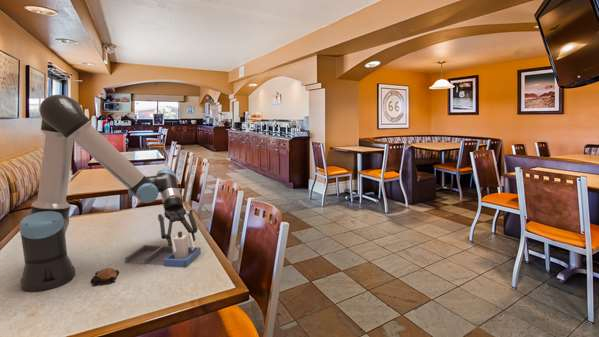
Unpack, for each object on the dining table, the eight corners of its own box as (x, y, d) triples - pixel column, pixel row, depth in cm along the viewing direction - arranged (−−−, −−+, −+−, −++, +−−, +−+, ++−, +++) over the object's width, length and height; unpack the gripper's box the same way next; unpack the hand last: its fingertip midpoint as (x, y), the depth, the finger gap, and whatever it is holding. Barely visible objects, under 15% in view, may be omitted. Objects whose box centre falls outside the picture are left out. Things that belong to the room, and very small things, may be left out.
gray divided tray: (185, 267, 124) (184, 260, 124) (123, 264, 127) (123, 257, 127) (200, 253, 138) (200, 246, 138) (144, 250, 141) (144, 243, 141)
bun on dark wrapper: (94, 275, 120) (93, 266, 119) (120, 271, 123) (119, 262, 122) (88, 289, 110) (87, 278, 109) (116, 284, 113) (116, 274, 113)
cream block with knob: (184, 260, 129) (182, 233, 127) (174, 260, 130) (172, 233, 128) (188, 256, 133) (186, 229, 131) (179, 256, 134) (177, 229, 132)
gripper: (194, 202, 147) (207, 249, 136) (146, 209, 136) (156, 260, 125) (196, 193, 142) (210, 241, 130) (148, 199, 131) (158, 252, 120)
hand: (184, 250), depth 128 cm, fingers open, 6 cm apart
